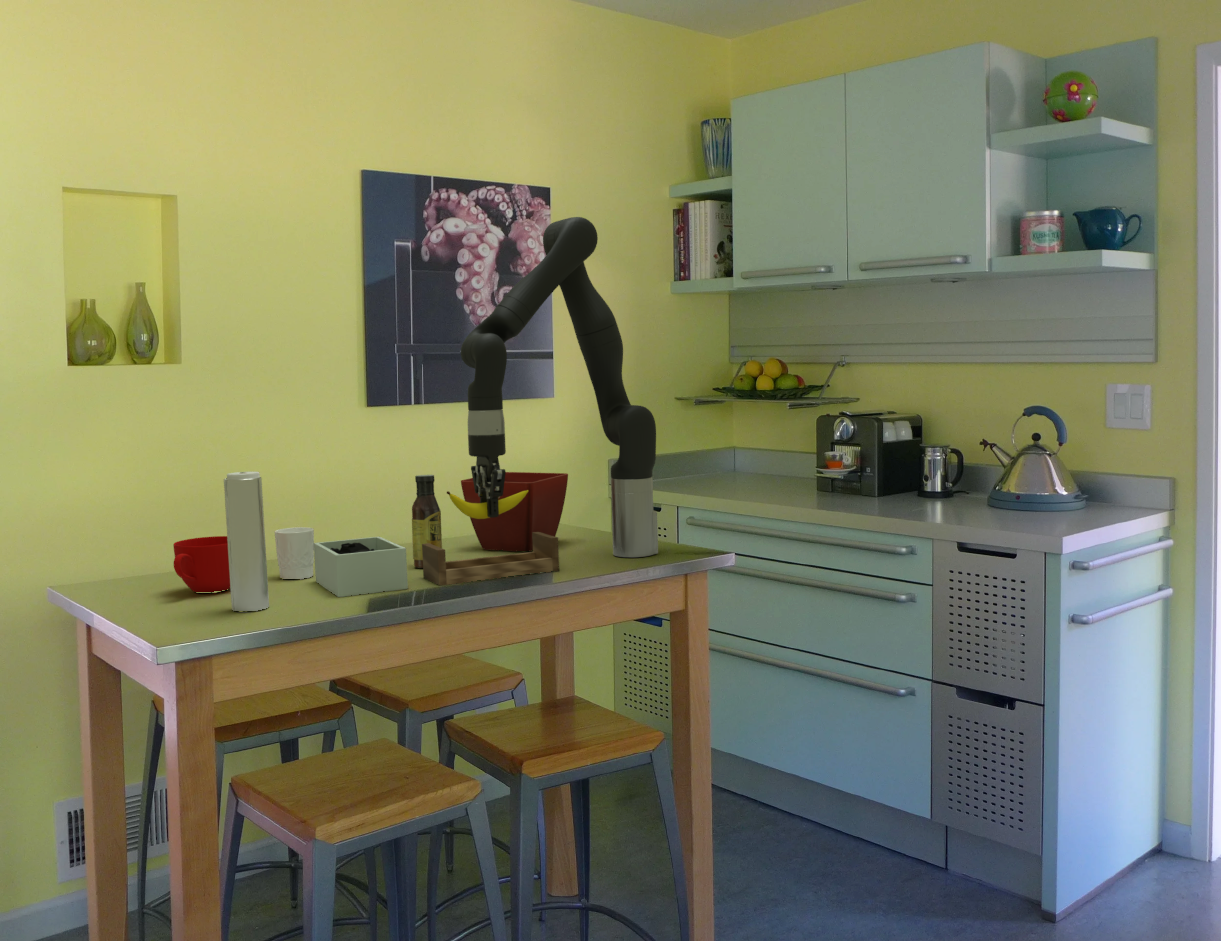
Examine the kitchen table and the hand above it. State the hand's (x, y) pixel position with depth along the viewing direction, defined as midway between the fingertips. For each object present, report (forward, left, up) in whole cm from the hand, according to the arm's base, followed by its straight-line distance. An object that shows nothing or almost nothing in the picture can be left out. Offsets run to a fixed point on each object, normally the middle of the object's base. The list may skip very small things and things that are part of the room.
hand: (489, 515), depth 231 cm
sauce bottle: (+8, -17, -12) cm, 23 cm away
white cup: (+35, -22, -12) cm, 43 cm away
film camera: (+25, -4, -13) cm, 29 cm away
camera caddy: (+26, -5, -12) cm, 29 cm away
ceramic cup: (+54, -16, -12) cm, 58 cm away
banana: (0, 0, -1) cm, 1 cm away
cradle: (0, 0, -12) cm, 12 cm away
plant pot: (-18, -29, -12) cm, 36 cm away
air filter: (+49, +5, -12) cm, 51 cm away
